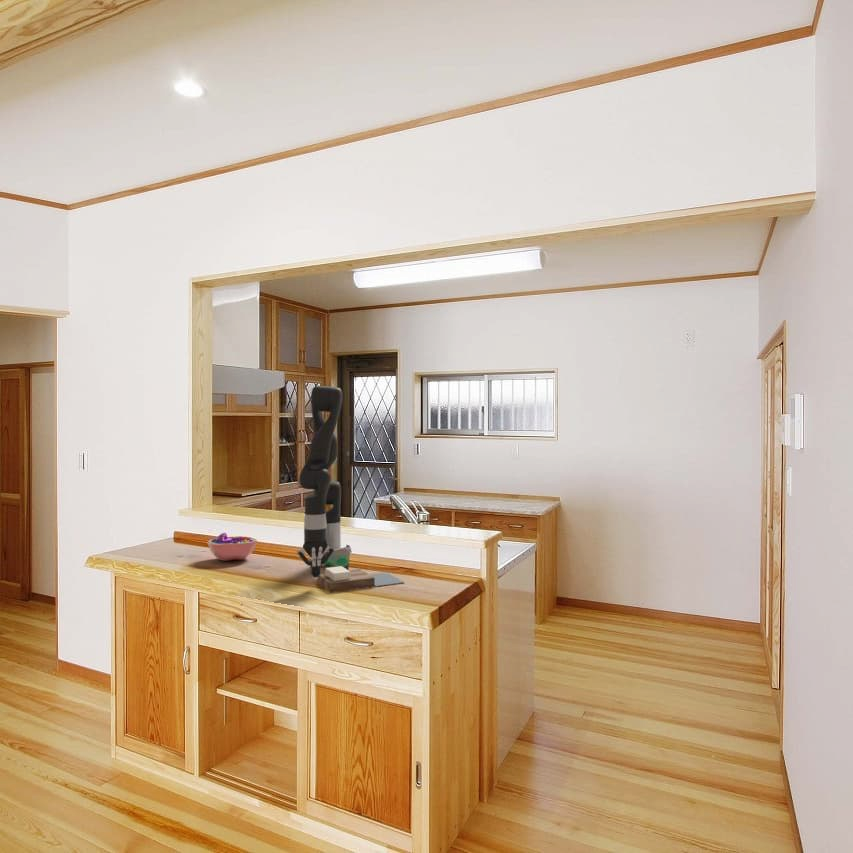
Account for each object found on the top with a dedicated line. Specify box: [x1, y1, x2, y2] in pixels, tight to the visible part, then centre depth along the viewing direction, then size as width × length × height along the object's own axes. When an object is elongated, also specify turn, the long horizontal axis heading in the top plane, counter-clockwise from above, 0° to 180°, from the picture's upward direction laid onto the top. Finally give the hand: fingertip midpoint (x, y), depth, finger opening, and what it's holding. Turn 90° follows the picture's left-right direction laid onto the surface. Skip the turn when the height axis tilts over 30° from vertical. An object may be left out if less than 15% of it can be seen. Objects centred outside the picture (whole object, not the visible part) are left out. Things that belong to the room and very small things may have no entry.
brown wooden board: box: [317, 568, 375, 593], centre depth 221 cm, size 14×16×3 cm
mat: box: [368, 571, 405, 588], centre depth 227 cm, size 16×11×1 cm
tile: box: [325, 566, 350, 581], centre depth 220 cm, size 9×6×2 cm, turn 27°
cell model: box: [206, 532, 258, 562], centre depth 259 cm, size 17×20×11 cm
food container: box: [323, 544, 352, 572], centre depth 235 cm, size 12×6×10 cm, turn 139°
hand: (315, 576), depth 216 cm, fingers closed
